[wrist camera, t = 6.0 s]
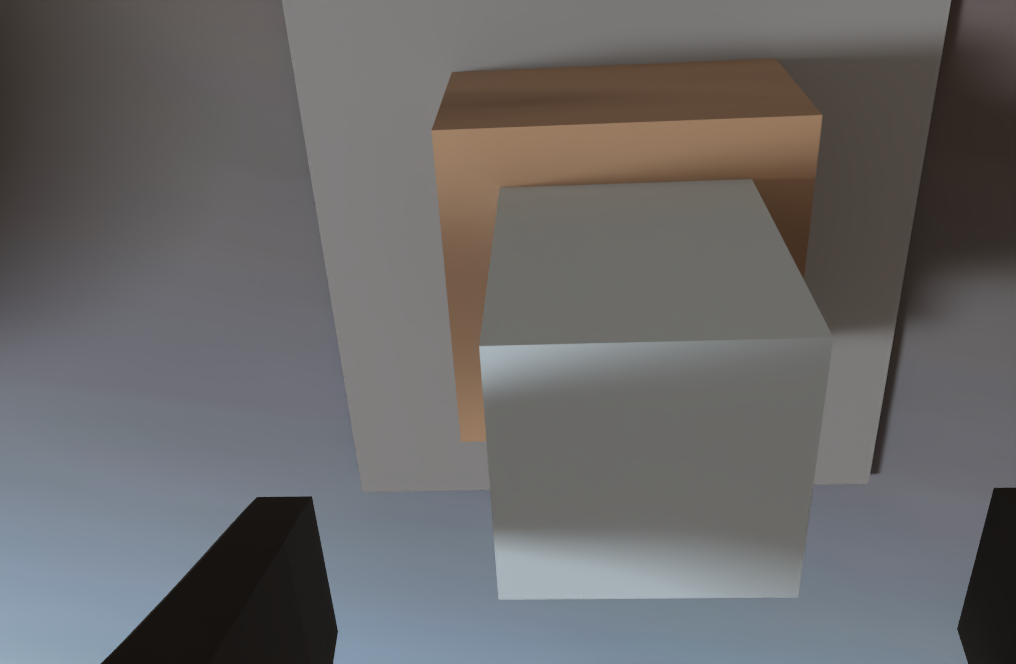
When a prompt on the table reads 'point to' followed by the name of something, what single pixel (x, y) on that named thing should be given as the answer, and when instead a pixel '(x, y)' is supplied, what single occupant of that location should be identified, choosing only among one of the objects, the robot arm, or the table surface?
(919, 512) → the table surface
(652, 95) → the walnut block
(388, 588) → the table surface
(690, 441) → the pale grey small block
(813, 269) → the mat
